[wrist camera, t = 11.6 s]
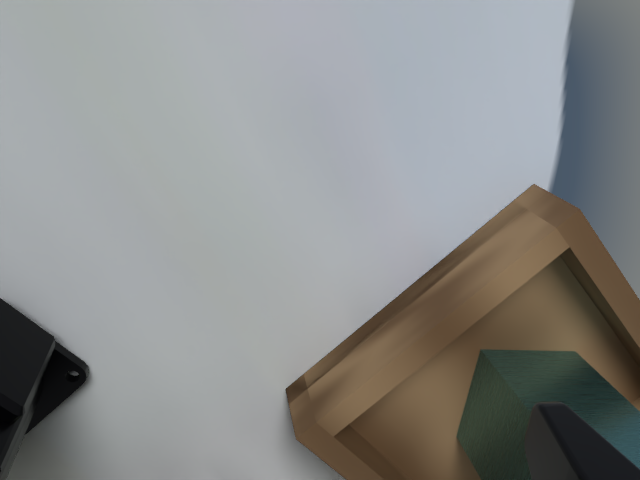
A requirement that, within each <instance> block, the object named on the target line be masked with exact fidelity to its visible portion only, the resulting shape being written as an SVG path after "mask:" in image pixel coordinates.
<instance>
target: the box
mask: <svg viewBox="0 0 640 480" xmlns="http://www.w3.org/2000/svg"><path fill="white" fill-rule="evenodd" d="M480 349H491V350H541V351H576V352H577V353H578V354H579V355H580V356H581V357H582V358H583V359H584V360H585V361H586V362H587V363H589V364H590V365H591V366H592V367H593V368H594V369H595V370H596V371H597V372H598V373H599V374H600V375H601V376H602V377H603V378H605V379H606V380H607V381H608V382H609V383H610V384H611V385H612V386H613V387H614V388H615V389H616V390H617V391H618V392H619V393H621V394H622V395H623V396H624V397H625V398H626V399H627V400H628V401H629V402H630V403H631V404H632V405H633V406H634V407H635V408H637V409H638V410H639V411H640V300H639V299H638V297H637V295H636V294H635V292H634V291H633V290H632V288H631V286H630V285H629V283H628V282H627V280H626V279H625V277H624V276H623V274H622V273H621V271H620V270H619V268H618V267H617V265H616V263H615V262H614V260H613V259H612V257H611V256H610V254H609V253H608V251H607V250H606V248H605V247H604V245H603V244H602V242H601V241H600V239H599V238H598V236H597V234H596V233H595V231H594V230H593V228H592V227H591V225H590V224H589V222H588V221H587V219H586V218H585V216H584V215H583V213H582V212H581V210H580V209H579V208H577V207H575V206H573V205H571V204H570V203H568V202H566V201H564V200H562V199H561V198H559V197H557V196H555V195H553V194H551V193H550V192H548V191H546V190H544V189H542V188H540V187H539V186H537V185H535V184H533V185H532V186H531V187H530V188H528V189H527V190H526V191H525V192H524V193H522V194H521V195H520V196H519V197H518V198H516V199H515V200H514V201H513V202H511V203H510V204H509V205H508V206H507V207H505V208H504V209H503V210H502V211H501V212H499V213H498V214H497V215H496V216H495V217H493V218H492V219H491V220H490V221H488V222H487V223H486V224H485V225H484V226H482V227H481V228H480V229H479V230H478V231H476V232H475V233H474V234H473V235H472V236H470V237H469V238H468V239H467V240H465V241H464V242H463V243H462V244H461V245H459V246H458V247H457V248H456V249H455V250H453V251H452V252H451V253H450V254H449V255H447V256H446V257H445V258H444V259H442V260H441V261H440V262H439V263H438V264H436V265H435V266H434V267H433V268H432V269H430V270H429V271H428V272H427V273H426V274H424V275H423V276H422V277H421V278H419V279H418V280H417V281H416V282H415V283H413V284H412V285H411V286H410V287H409V288H407V289H406V290H405V291H404V292H403V293H401V294H400V295H399V296H398V297H396V298H395V299H394V300H393V301H392V302H390V303H389V304H388V305H387V306H386V307H384V308H383V309H382V310H381V311H380V312H378V313H377V314H376V315H375V316H373V317H372V318H371V319H370V320H369V321H367V322H366V323H365V324H364V325H363V326H361V327H360V328H359V329H358V330H357V331H355V332H354V333H353V334H352V335H350V336H349V337H348V338H347V339H346V340H344V341H343V342H342V343H341V344H340V345H338V346H337V347H336V348H335V349H334V350H332V351H331V352H330V353H329V354H327V355H326V356H325V357H324V358H323V359H321V360H320V361H319V362H318V363H317V364H315V365H314V366H313V367H312V368H311V369H309V370H308V371H307V372H306V373H304V374H303V375H302V376H301V377H300V378H298V379H297V380H296V381H295V382H294V383H292V384H291V385H290V386H289V387H288V388H286V393H287V398H288V403H289V408H290V412H291V417H292V422H293V427H294V432H295V437H296V439H297V440H298V441H299V442H300V443H302V444H303V445H304V446H305V447H307V448H308V449H309V450H310V451H312V452H313V453H314V454H315V455H317V456H318V457H319V458H320V459H321V460H323V461H324V462H325V463H326V464H328V465H329V466H330V467H331V468H333V469H334V470H335V471H336V472H338V473H339V474H340V475H341V476H343V477H344V478H345V479H346V480H481V478H480V477H479V475H478V473H477V472H476V470H475V468H474V466H473V465H472V463H471V461H470V459H469V458H468V456H467V454H466V452H465V451H464V449H463V447H462V446H461V444H460V442H459V440H458V439H457V437H456V435H457V432H458V428H459V424H460V421H461V417H462V414H463V410H464V406H465V403H466V399H467V396H468V392H469V388H470V385H471V381H472V378H473V374H474V370H475V367H476V363H477V360H478V356H479V352H480Z"/></svg>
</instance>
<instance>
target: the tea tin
mask: <svg viewBox="0 0 640 480" xmlns="http://www.w3.org/2000/svg"><path fill="white" fill-rule="evenodd" d="M539 402H562V403H564V404H566V405H567V406H568V407H570V408H571V409H572V410H573V411H574V412H575V413H576V414H578V415H579V416H580V417H581V418H582V419H583V420H584V421H586V422H587V423H588V424H589V425H590V426H591V427H592V428H594V429H595V430H596V431H597V432H598V433H599V434H600V435H601V436H603V437H604V438H605V439H606V440H607V441H608V442H609V443H611V444H612V445H613V446H614V447H615V448H616V449H617V450H619V451H620V452H621V453H622V454H623V455H624V456H625V457H627V458H628V459H629V460H630V461H631V462H632V463H633V464H635V465H636V466H637V467H638V468H639V469H640V411H639V410H638V409H637V408H635V407H634V406H633V405H632V404H631V403H630V402H629V401H628V400H627V399H626V398H625V397H624V396H623V395H622V394H621V393H619V392H618V391H617V390H616V389H615V388H614V387H613V386H612V385H611V384H610V383H609V382H608V381H607V380H606V379H605V378H603V377H602V376H601V375H600V374H599V373H598V372H597V371H596V370H595V369H594V368H593V367H592V366H591V365H590V364H589V363H587V362H586V361H585V360H584V359H583V358H582V357H581V356H580V355H579V354H578V353H577V352H576V351H541V350H491V349H480V352H479V356H478V360H477V363H476V367H475V370H474V374H473V378H472V381H471V385H470V388H469V392H468V396H467V399H466V403H465V406H464V410H463V414H462V417H461V421H460V424H459V428H458V432H457V435H456V437H457V439H458V440H459V442H460V444H461V446H462V447H463V449H464V451H465V452H466V454H467V456H468V458H469V459H470V461H471V463H472V465H473V466H474V468H475V470H476V472H477V473H478V475H479V477H480V478H481V480H532V478H531V474H530V470H529V466H528V462H527V458H526V453H525V444H524V443H525V435H526V431H527V427H528V423H529V419H530V415H531V411H532V408H533V406H534V405H535V404H536V403H539Z"/></svg>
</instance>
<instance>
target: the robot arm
mask: <svg viewBox="0 0 640 480" xmlns="http://www.w3.org/2000/svg"><path fill="white" fill-rule="evenodd" d="M68 371H76V372H78V374H79V375H77V376H73V375H70V374H69V373H68ZM88 371H89V369H88V366H87V365H86V363H85V362H84V361H82V360H81V359H79V358H78V357H77V356H75V355H74V354H72V353H71V352H70V351H68V350H67V349H66V348H64V347H63V346H61V345H60V344H59V343H57V342H56V341H55V339H54V337H53V336H52V335H50V334H49V333H48V332H46V331H45V330H43V329H42V328H41V327H39V326H38V325H36V324H35V323H34V322H32V321H31V320H30V319H28V318H27V317H25V316H24V315H23V314H21V313H20V312H19V311H17V310H16V309H14V308H13V307H12V306H10V305H9V304H8V303H6V302H5V301H3V300H2V299H1V298H0V480H6V477H7V475H8V473H9V470H10V468H11V466H12V463H13V461H14V459H15V456H16V454H17V452H18V449H19V447H20V444H21V442H22V440H23V437H24V435H25V434H27V433H28V432H29V431H30V430H31V429H32V428H33V427H35V426H36V425H37V424H38V423H39V422H40V421H41V420H43V419H44V418H45V417H46V416H47V415H48V414H49V413H51V412H52V411H53V410H54V409H55V408H56V407H57V406H59V405H60V404H61V403H62V402H63V401H64V400H65V399H66V398H68V397H69V396H70V395H71V394H72V393H73V392H74V391H76V390H77V389H78V388H79V387H80V386H81V385H82V384H83V383H84V382H85V381H86V378H87V375H88ZM524 444H525V453H526V458H527V462H528V466H529V470H530V474H531V478H532V480H640V469H639V468H638V467H637V466H636V465H635V464H633V463H632V462H631V461H630V460H629V459H628V458H627V457H625V456H624V455H623V454H622V453H621V452H620V451H619V450H617V449H616V448H615V447H614V446H613V445H612V444H611V443H609V442H608V441H607V440H606V439H605V438H604V437H603V436H601V435H600V434H599V433H598V432H597V431H596V430H595V429H594V428H592V427H591V426H590V425H589V424H588V423H587V422H586V421H584V420H583V419H582V418H581V417H580V416H579V415H578V414H576V413H575V412H574V411H573V410H572V409H571V408H570V407H568V406H567V405H566V404H564V403H562V402H539V403H536V404H535V405H534V406H533V408H532V411H531V415H530V419H529V423H528V427H527V431H526V435H525V443H524Z"/></svg>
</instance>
